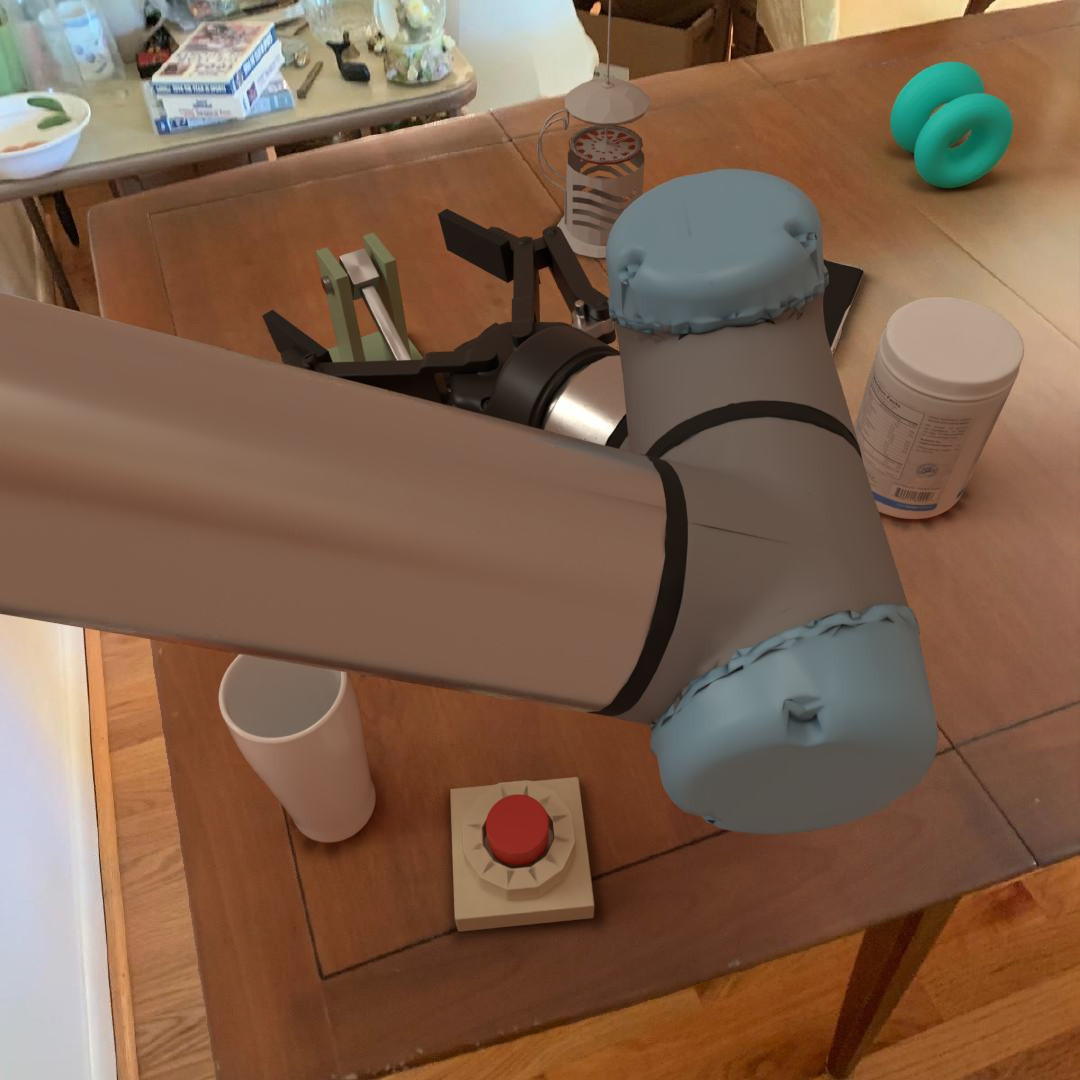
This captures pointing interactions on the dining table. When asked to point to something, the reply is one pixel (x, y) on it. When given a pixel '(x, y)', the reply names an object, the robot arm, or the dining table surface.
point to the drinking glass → (302, 742)
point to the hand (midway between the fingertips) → (363, 277)
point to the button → (517, 829)
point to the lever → (375, 301)
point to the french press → (599, 158)
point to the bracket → (344, 310)
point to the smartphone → (839, 298)
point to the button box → (520, 890)
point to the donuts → (951, 124)
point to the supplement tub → (934, 402)
